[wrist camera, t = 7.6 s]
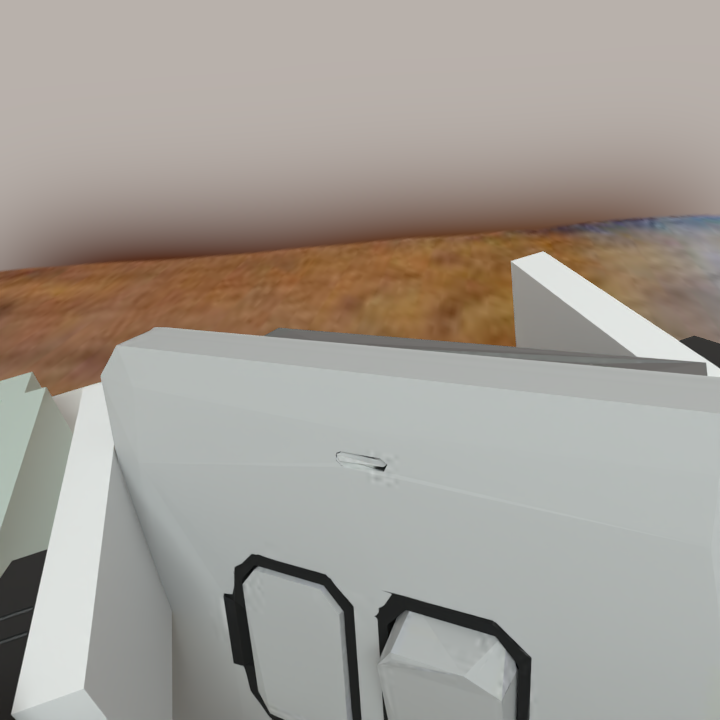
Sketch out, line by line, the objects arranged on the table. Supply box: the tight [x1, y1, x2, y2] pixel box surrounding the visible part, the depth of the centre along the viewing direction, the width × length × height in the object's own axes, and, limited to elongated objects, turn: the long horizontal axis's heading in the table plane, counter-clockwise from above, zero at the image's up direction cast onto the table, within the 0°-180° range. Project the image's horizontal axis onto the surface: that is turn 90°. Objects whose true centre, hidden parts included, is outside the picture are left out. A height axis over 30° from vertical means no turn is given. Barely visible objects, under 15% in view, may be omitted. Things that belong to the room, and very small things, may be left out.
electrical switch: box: [101, 327, 720, 720], centre depth 10 cm, size 9×5×9 cm, turn 65°
